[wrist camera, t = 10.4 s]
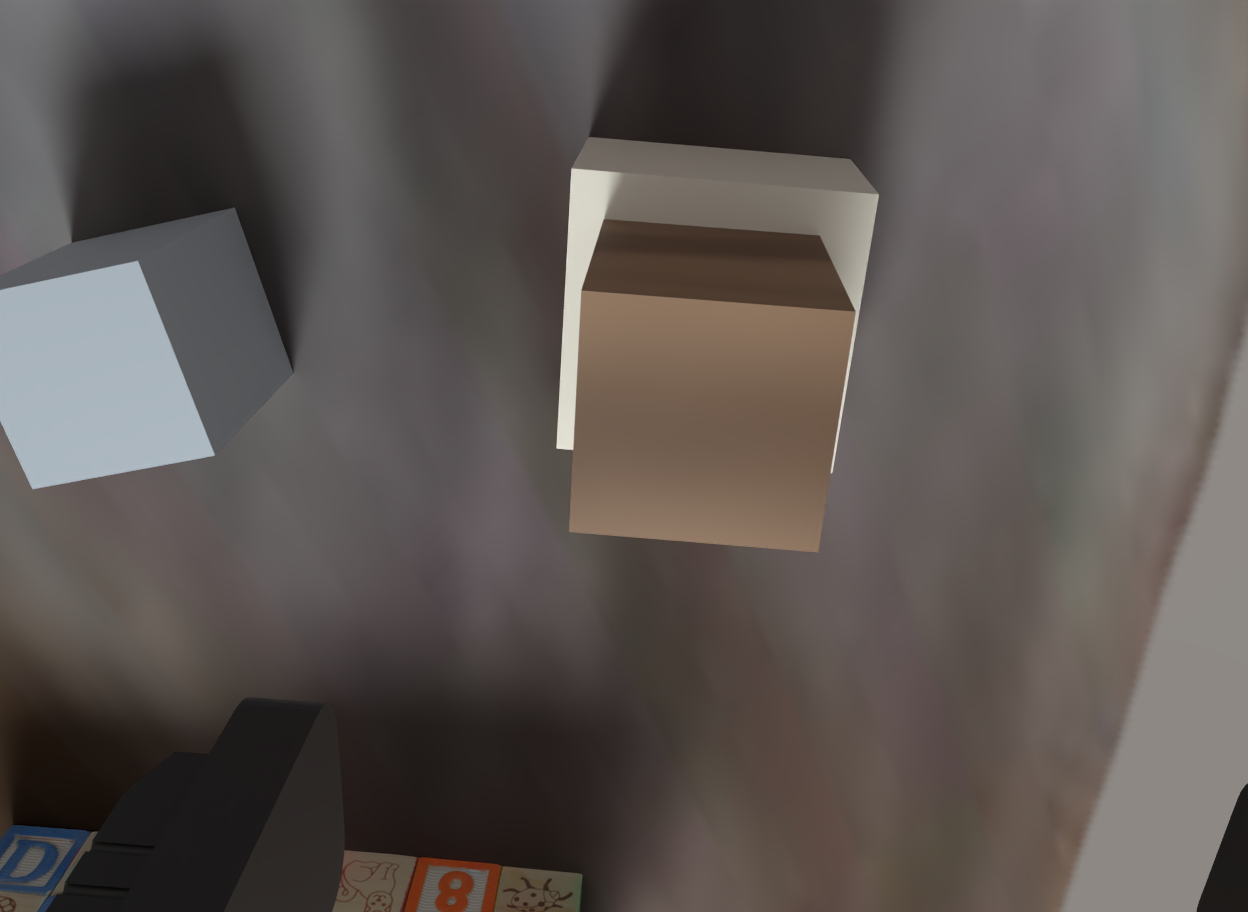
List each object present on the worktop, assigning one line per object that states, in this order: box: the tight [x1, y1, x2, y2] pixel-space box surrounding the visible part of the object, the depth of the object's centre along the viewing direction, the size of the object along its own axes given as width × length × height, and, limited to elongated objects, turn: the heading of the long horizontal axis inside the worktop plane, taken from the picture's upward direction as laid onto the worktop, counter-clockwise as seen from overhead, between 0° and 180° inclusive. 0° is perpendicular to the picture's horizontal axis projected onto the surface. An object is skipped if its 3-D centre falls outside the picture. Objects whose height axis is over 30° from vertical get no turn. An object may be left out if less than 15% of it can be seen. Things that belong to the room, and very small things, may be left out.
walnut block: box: [569, 219, 856, 552], centre depth 24 cm, size 5×5×6 cm
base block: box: [557, 137, 879, 473], centre depth 29 cm, size 7×7×5 cm
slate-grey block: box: [0, 208, 293, 489], centre depth 30 cm, size 5×5×6 cm
